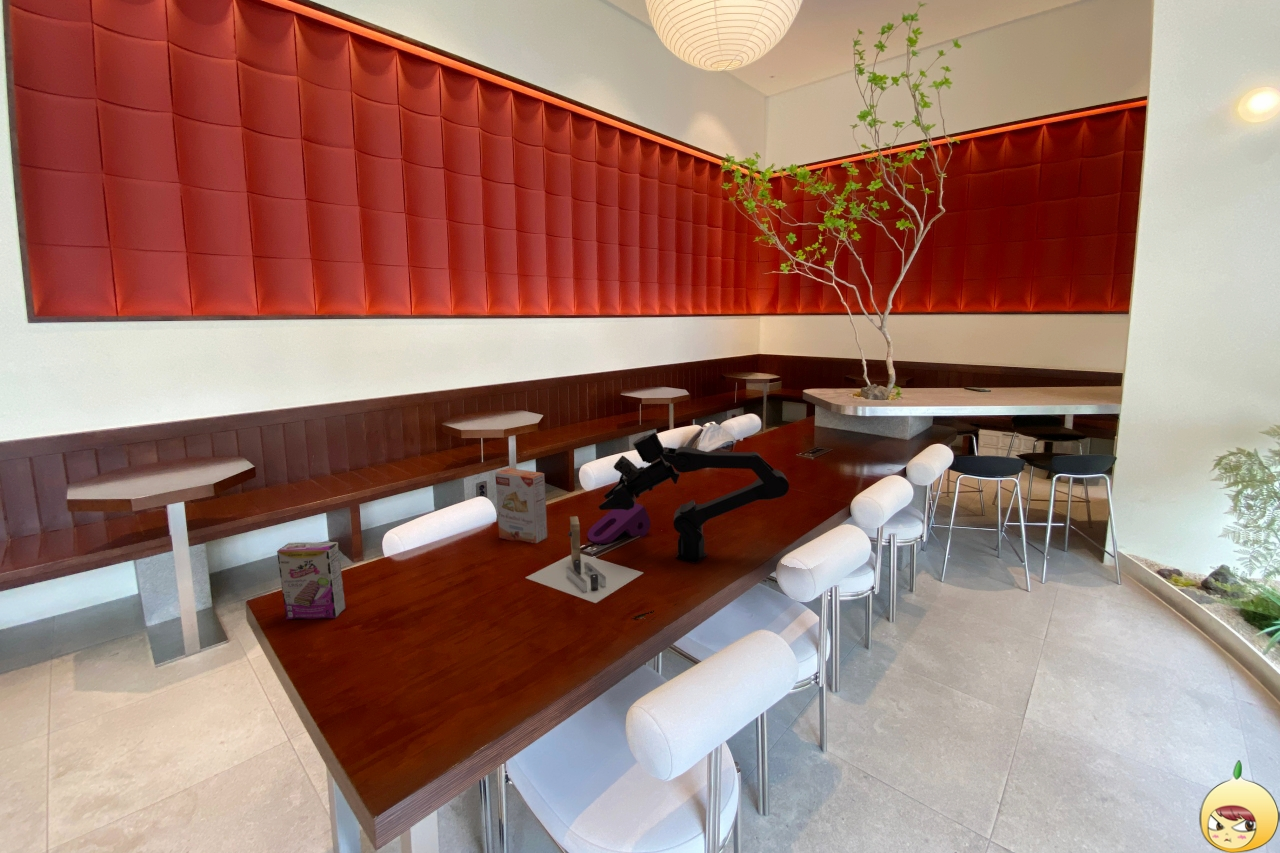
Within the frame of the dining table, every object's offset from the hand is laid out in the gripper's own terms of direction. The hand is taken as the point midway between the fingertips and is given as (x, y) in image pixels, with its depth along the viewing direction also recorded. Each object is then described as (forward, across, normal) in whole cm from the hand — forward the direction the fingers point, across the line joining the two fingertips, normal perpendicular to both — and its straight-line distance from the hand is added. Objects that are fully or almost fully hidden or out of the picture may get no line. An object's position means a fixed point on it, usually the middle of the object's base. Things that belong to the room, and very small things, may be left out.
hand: (602, 502), depth 158 cm
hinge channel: (+8, +19, +12) cm, 23 cm away
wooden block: (+12, +8, +9) cm, 17 cm away
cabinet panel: (+10, +15, +12) cm, 22 cm away
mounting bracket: (+6, -13, +14) cm, 20 cm away
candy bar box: (+59, +37, -16) cm, 72 cm away
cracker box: (+30, -9, +1) cm, 31 cm away
